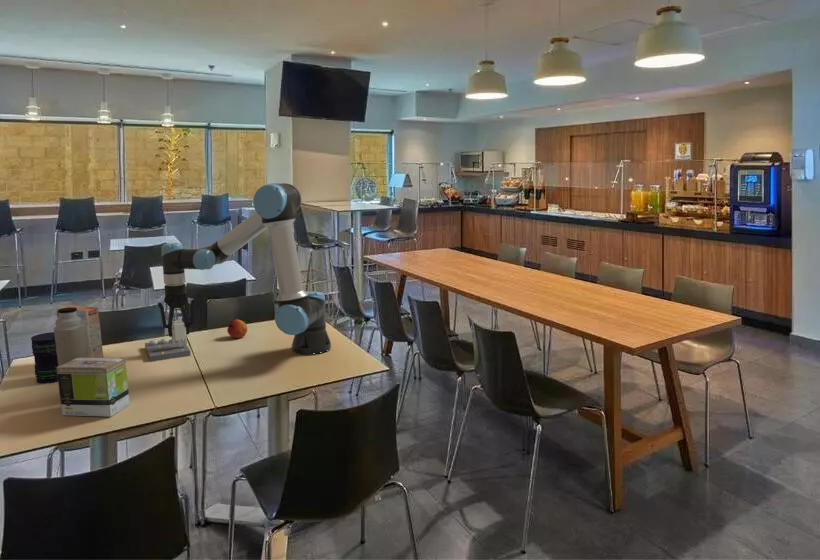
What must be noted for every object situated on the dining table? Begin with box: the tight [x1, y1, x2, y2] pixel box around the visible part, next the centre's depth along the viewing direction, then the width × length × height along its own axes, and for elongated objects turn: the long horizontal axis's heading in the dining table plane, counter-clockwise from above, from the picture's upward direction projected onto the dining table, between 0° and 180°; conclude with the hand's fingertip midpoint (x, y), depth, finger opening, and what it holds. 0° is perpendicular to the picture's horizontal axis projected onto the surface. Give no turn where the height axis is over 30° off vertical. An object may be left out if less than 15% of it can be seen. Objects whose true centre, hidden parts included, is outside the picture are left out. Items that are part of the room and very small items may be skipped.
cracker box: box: [56, 304, 104, 358], centre depth 208 cm, size 14×6×21 cm, turn 71°
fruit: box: [226, 318, 248, 339], centre depth 241 cm, size 8×8×8 cm
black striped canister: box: [30, 331, 58, 385], centre depth 192 cm, size 10×10×15 cm
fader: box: [172, 319, 185, 347], centre depth 220 cm, size 6×4×10 cm, turn 30°
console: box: [144, 338, 192, 362], centre depth 223 cm, size 20×14×4 cm
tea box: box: [56, 357, 130, 418], centre depth 166 cm, size 15×10×15 cm, turn 84°
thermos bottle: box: [53, 307, 88, 366], centre depth 175 cm, size 8×8×28 cm
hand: (179, 343), depth 221 cm, fingers closed on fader, 3 cm apart
